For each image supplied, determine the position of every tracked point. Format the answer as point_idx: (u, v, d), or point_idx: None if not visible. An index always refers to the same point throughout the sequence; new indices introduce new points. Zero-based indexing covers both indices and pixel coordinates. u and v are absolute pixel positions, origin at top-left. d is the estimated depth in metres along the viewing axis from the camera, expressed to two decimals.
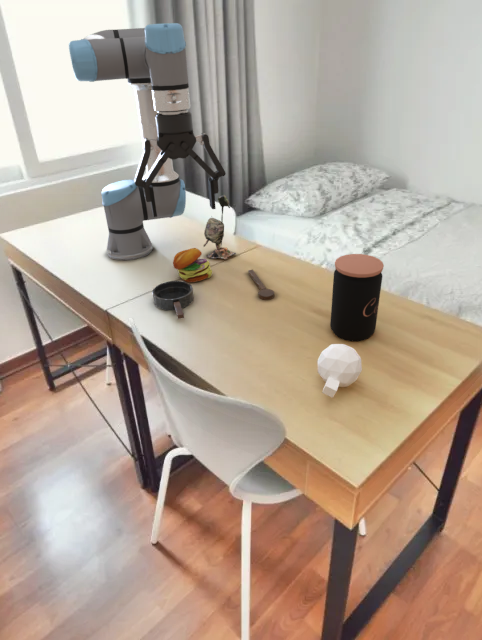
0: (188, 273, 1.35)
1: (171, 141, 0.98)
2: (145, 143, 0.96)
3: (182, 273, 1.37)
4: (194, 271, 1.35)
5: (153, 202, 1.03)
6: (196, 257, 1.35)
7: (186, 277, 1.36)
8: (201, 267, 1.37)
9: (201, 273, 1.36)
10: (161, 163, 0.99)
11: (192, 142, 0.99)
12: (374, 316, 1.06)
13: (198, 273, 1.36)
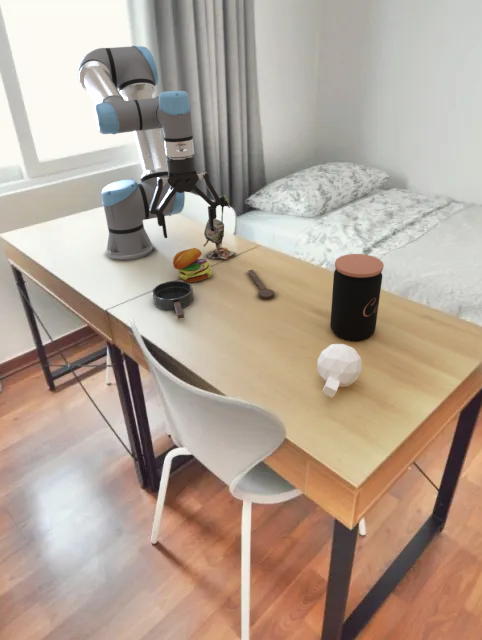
0: (188, 273, 1.35)
1: (178, 179, 1.24)
2: (158, 181, 1.22)
3: (182, 273, 1.37)
4: (194, 271, 1.35)
5: (164, 226, 1.29)
6: (196, 257, 1.35)
7: (186, 277, 1.36)
8: (201, 267, 1.37)
9: (201, 273, 1.36)
10: (171, 196, 1.25)
11: (195, 179, 1.25)
12: (374, 316, 1.06)
13: (198, 273, 1.36)
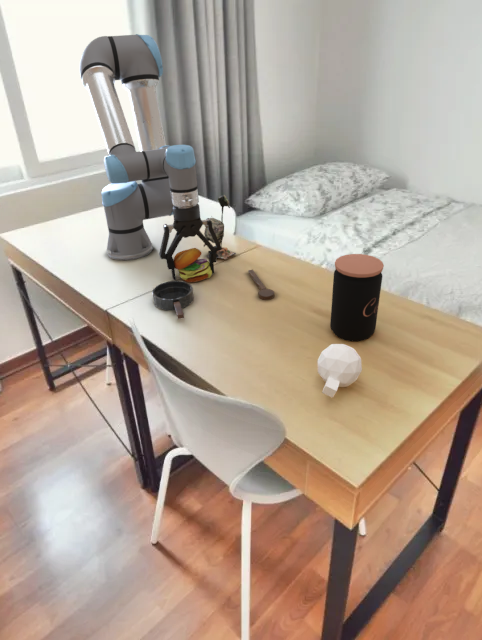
0: (188, 273, 1.35)
1: (184, 225, 1.31)
2: (165, 229, 1.30)
3: (182, 273, 1.37)
4: (194, 271, 1.35)
5: (173, 270, 1.36)
6: (196, 257, 1.35)
7: (186, 277, 1.36)
8: (201, 267, 1.37)
9: (201, 273, 1.36)
10: (178, 241, 1.33)
11: (199, 225, 1.32)
12: (374, 316, 1.06)
13: (198, 273, 1.36)
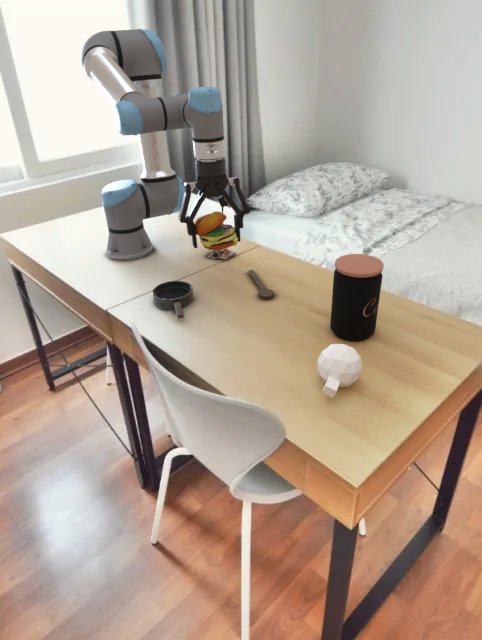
0: (212, 239, 1.18)
1: (207, 183, 1.14)
2: (186, 187, 1.13)
3: (204, 240, 1.20)
4: (218, 237, 1.18)
5: (194, 236, 1.20)
6: (221, 221, 1.18)
7: (209, 244, 1.19)
8: (226, 233, 1.20)
9: (226, 239, 1.19)
10: (200, 202, 1.16)
11: (225, 183, 1.15)
12: (374, 316, 1.06)
13: (223, 239, 1.19)
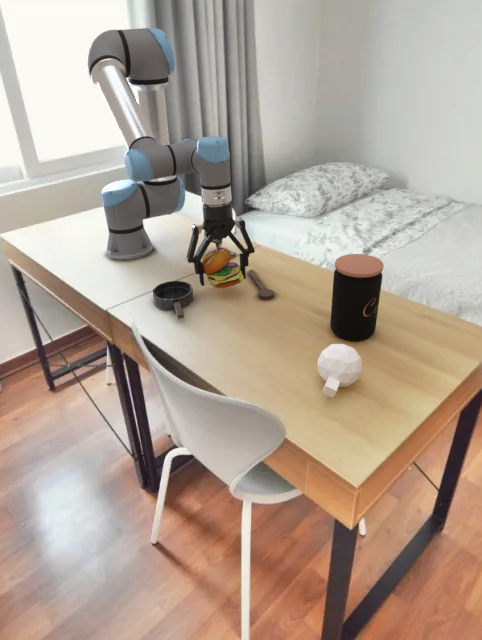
0: (218, 278, 1.23)
1: (214, 225, 1.18)
2: (194, 230, 1.17)
3: (211, 278, 1.24)
4: (225, 276, 1.23)
5: (202, 275, 1.24)
6: (227, 261, 1.23)
7: (216, 283, 1.24)
8: (232, 272, 1.24)
9: (232, 278, 1.24)
10: (207, 243, 1.20)
11: (231, 225, 1.20)
12: (374, 316, 1.06)
13: (229, 278, 1.23)
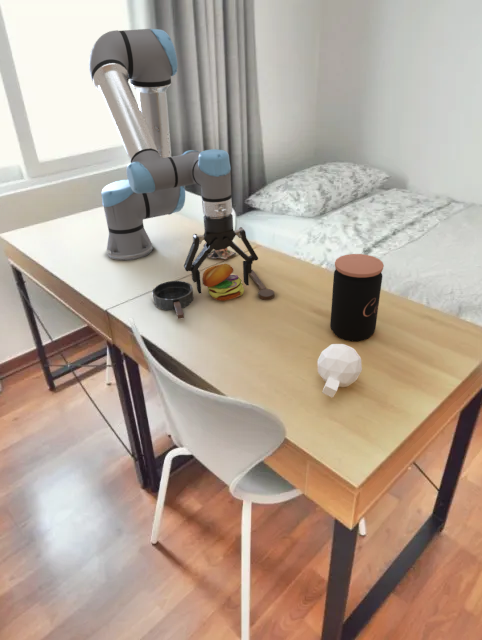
0: (219, 291, 1.25)
1: (215, 236, 1.20)
2: (195, 239, 1.19)
3: (212, 291, 1.26)
4: (226, 289, 1.25)
5: (199, 283, 1.25)
6: (228, 274, 1.25)
7: (217, 295, 1.26)
8: (233, 284, 1.26)
9: (233, 291, 1.26)
10: (207, 253, 1.22)
11: (232, 236, 1.21)
12: (374, 316, 1.06)
13: (230, 291, 1.25)
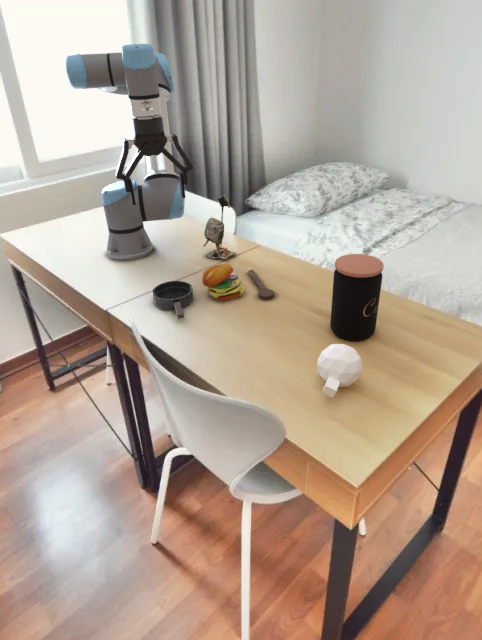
0: (219, 291, 1.25)
1: (145, 141, 1.17)
2: (124, 143, 1.15)
3: (212, 291, 1.26)
4: (226, 289, 1.25)
5: (132, 192, 1.22)
6: (228, 274, 1.25)
7: (217, 295, 1.26)
8: (233, 284, 1.26)
9: (233, 291, 1.26)
10: (138, 159, 1.18)
11: (164, 142, 1.18)
12: (374, 316, 1.06)
13: (230, 291, 1.25)
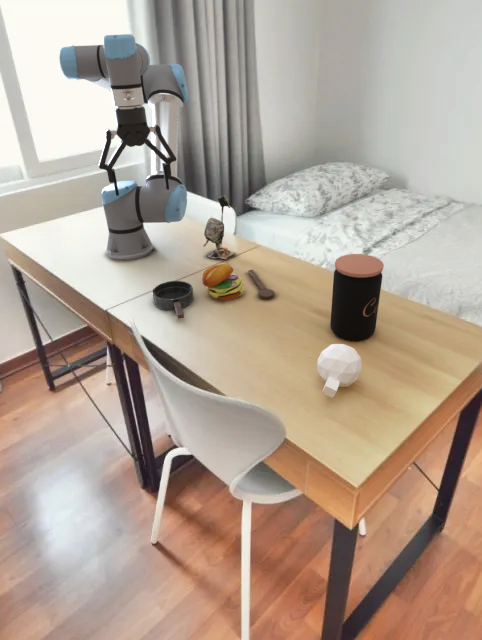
0: (219, 291, 1.25)
1: (128, 131, 1.17)
2: (106, 133, 1.16)
3: (212, 291, 1.26)
4: (226, 289, 1.25)
5: (115, 183, 1.23)
6: (228, 274, 1.25)
7: (217, 295, 1.26)
8: (233, 284, 1.26)
9: (233, 291, 1.26)
10: (121, 150, 1.19)
11: (146, 132, 1.19)
12: (374, 316, 1.06)
13: (230, 291, 1.25)
